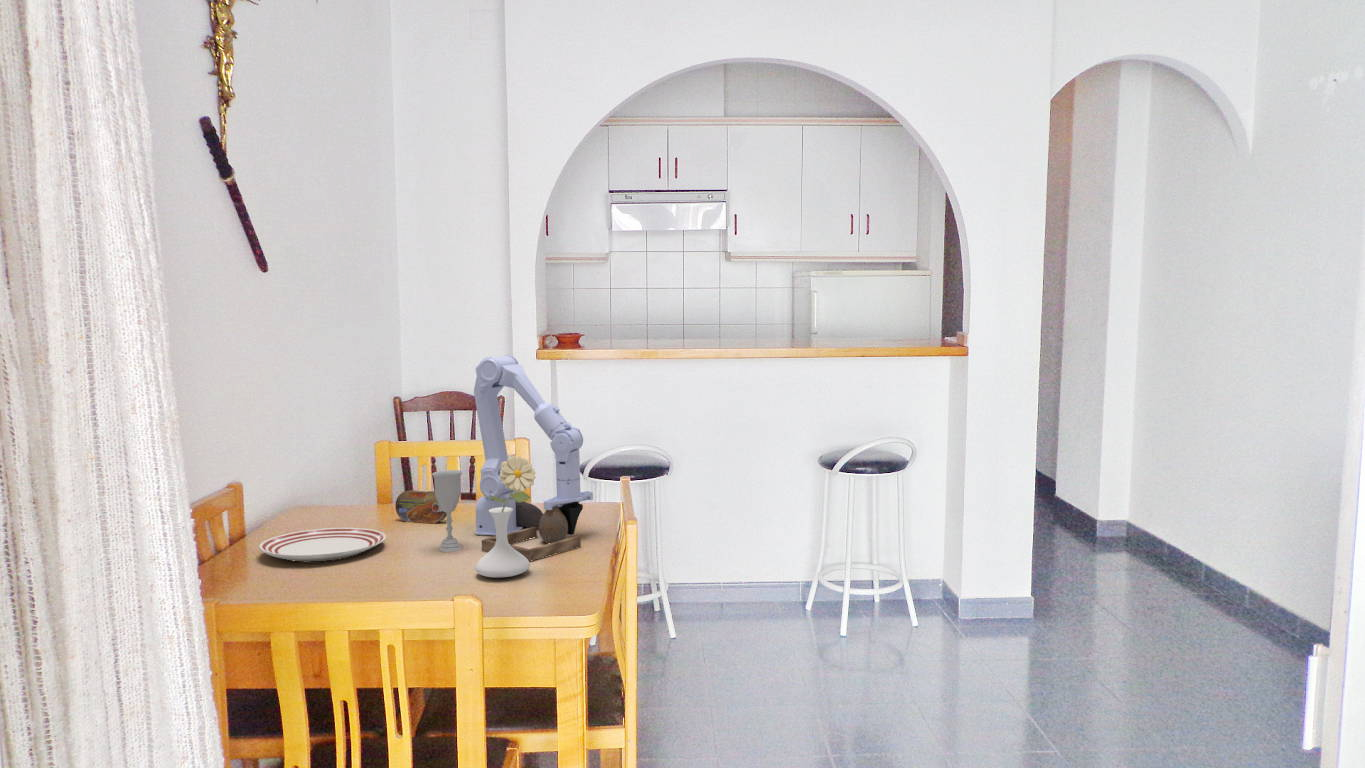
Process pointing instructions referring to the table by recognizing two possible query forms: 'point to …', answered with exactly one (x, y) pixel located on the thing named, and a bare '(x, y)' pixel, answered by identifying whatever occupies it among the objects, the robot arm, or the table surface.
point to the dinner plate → (322, 543)
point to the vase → (553, 525)
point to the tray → (537, 551)
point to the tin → (419, 507)
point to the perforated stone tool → (527, 515)
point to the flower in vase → (502, 555)
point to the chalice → (448, 502)
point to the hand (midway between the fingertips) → (569, 533)
